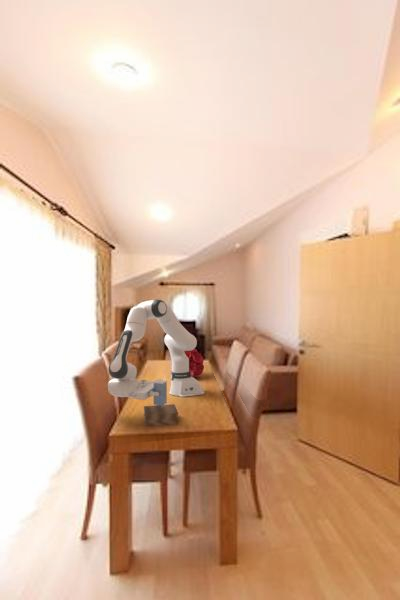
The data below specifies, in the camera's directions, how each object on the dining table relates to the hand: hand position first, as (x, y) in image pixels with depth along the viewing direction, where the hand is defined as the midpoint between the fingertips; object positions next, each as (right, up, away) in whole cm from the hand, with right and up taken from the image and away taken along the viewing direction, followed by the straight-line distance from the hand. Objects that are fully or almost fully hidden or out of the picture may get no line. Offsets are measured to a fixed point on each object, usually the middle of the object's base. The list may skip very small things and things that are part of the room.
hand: (161, 392), depth 182 cm
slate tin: (-1, -6, 0) cm, 6 cm away
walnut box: (-1, -15, +1) cm, 15 cm away
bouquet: (+11, -12, +93) cm, 95 cm away
